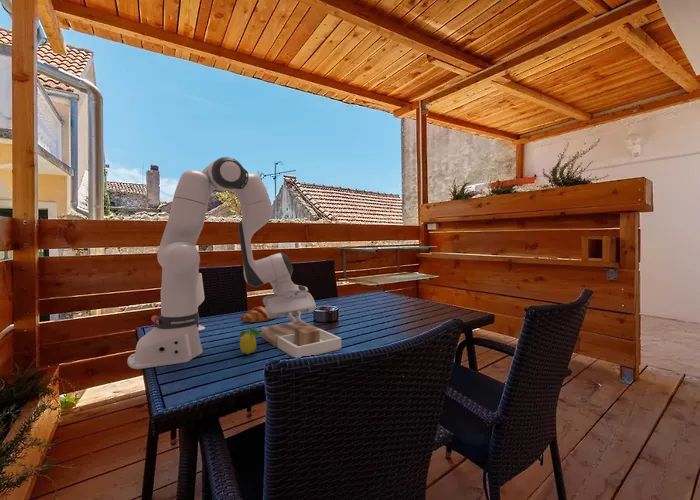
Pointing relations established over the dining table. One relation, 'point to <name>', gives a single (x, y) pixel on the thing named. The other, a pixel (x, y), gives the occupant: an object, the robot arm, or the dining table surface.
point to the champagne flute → (200, 295)
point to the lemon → (248, 340)
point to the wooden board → (280, 331)
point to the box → (309, 345)
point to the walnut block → (306, 335)
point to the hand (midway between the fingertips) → (297, 322)
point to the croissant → (256, 315)
